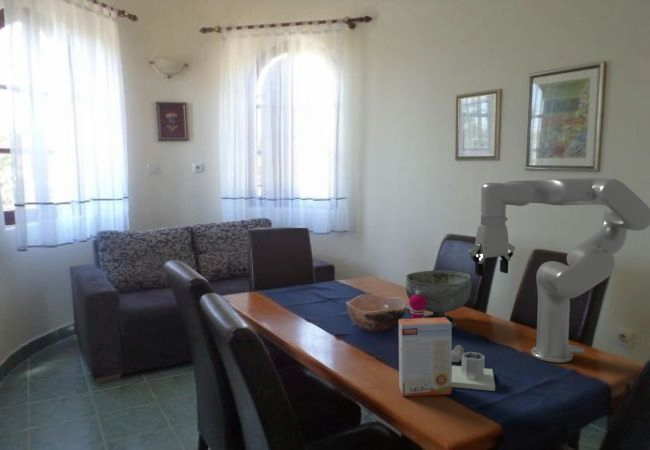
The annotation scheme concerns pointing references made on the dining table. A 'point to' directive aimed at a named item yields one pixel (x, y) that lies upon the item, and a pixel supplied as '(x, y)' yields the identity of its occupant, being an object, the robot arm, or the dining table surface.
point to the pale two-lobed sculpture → (457, 353)
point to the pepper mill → (417, 305)
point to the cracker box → (425, 356)
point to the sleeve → (472, 366)
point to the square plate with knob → (480, 384)
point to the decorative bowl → (440, 291)
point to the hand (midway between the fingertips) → (491, 273)
